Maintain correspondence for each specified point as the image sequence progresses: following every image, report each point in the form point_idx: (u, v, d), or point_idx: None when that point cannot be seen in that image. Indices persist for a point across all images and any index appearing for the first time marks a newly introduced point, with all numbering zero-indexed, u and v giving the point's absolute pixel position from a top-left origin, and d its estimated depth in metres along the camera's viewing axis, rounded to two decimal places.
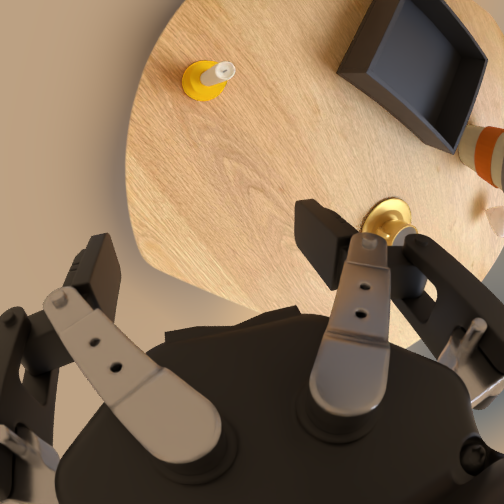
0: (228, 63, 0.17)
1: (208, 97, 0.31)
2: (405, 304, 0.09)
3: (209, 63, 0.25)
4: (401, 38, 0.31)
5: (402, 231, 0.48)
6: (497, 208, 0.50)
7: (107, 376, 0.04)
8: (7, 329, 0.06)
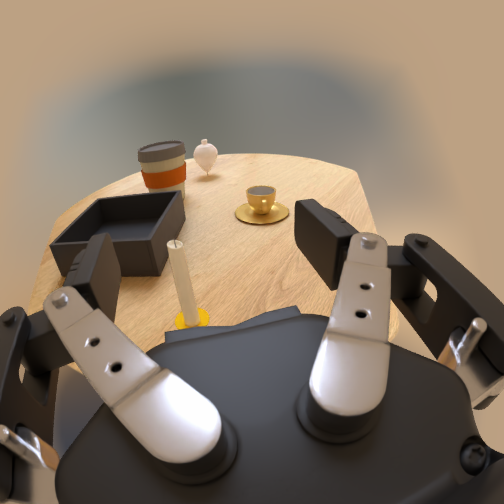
0: (168, 243, 0.26)
1: None
2: (405, 304, 0.09)
3: (177, 324, 0.31)
4: None
5: None
6: (199, 163, 0.88)
7: (107, 376, 0.04)
8: (7, 328, 0.06)
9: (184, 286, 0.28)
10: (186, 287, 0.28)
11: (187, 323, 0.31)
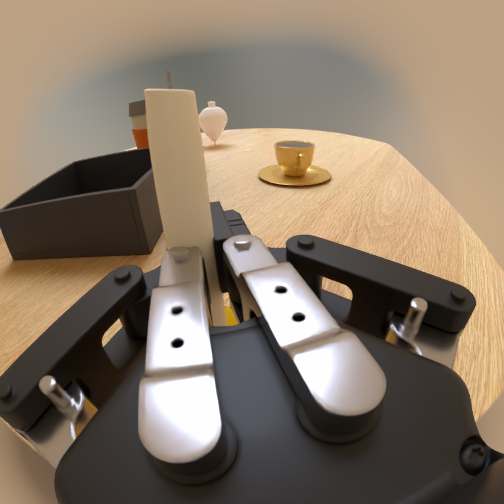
0: None
1: None
2: None
3: None
4: None
5: None
6: (205, 129, 0.69)
7: (164, 346, 0.05)
8: (115, 285, 0.07)
9: (197, 231, 0.09)
10: (203, 235, 0.09)
11: None
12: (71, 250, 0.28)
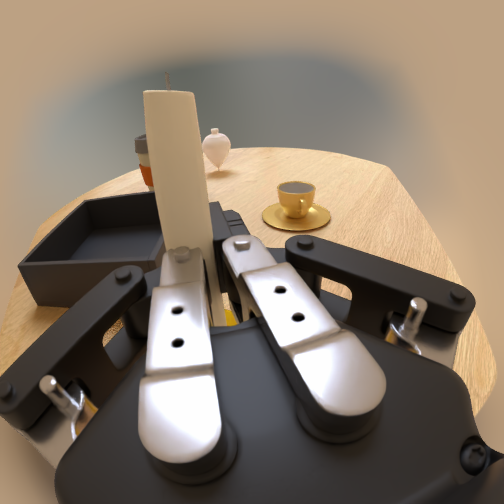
0: (147, 91, 0.07)
1: None
2: None
3: None
4: None
5: None
6: (209, 156, 0.73)
7: (165, 346, 0.05)
8: (116, 286, 0.07)
9: (200, 233, 0.09)
10: (205, 236, 0.09)
11: None
12: None
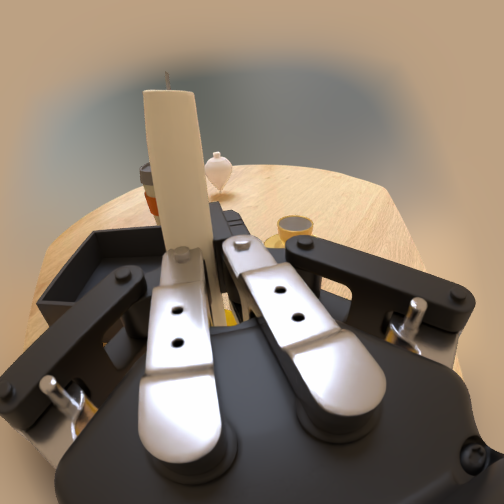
0: (147, 91, 0.07)
1: None
2: None
3: None
4: None
5: None
6: (211, 180, 0.77)
7: (165, 346, 0.05)
8: (115, 286, 0.07)
9: (200, 233, 0.09)
10: (205, 236, 0.09)
11: None
12: None
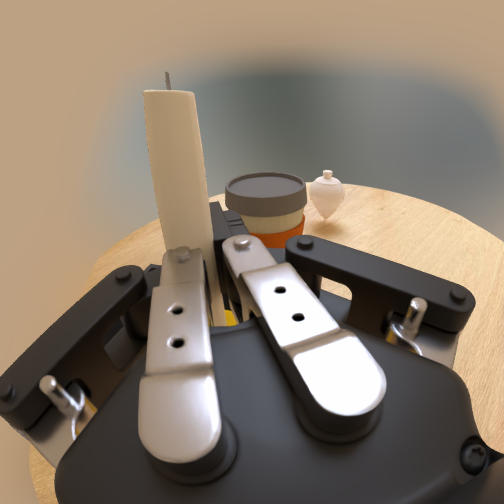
0: (147, 91, 0.07)
1: None
2: None
3: None
4: None
5: None
6: (317, 205, 0.60)
7: (165, 346, 0.05)
8: (115, 286, 0.07)
9: (200, 234, 0.09)
10: (206, 237, 0.09)
11: None
12: None
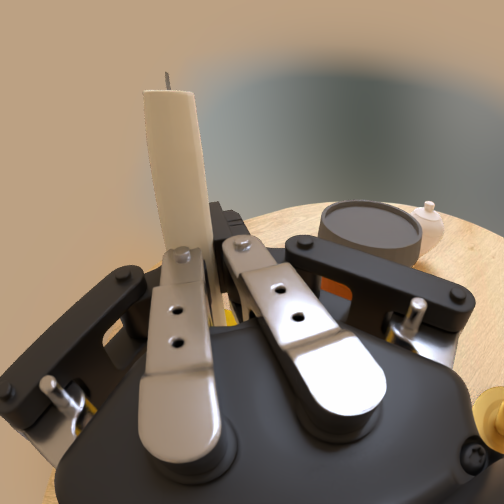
0: (147, 91, 0.07)
1: None
2: None
3: None
4: None
5: None
6: None
7: (165, 346, 0.05)
8: (115, 286, 0.07)
9: (200, 233, 0.09)
10: (205, 236, 0.09)
11: None
12: None
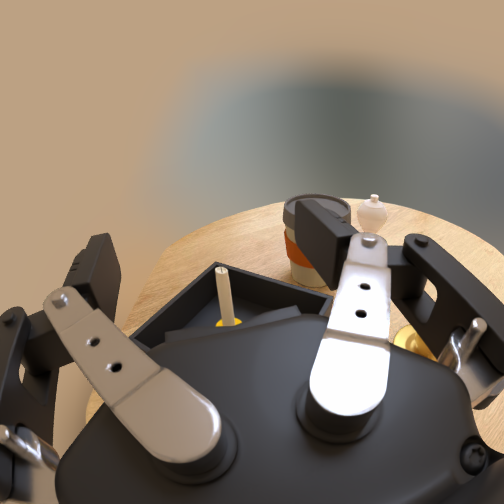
0: (216, 270, 0.34)
1: None
2: (405, 304, 0.09)
3: None
4: None
5: None
6: (362, 225, 0.65)
7: (107, 376, 0.04)
8: (7, 328, 0.06)
9: (229, 300, 0.36)
10: (230, 301, 0.36)
11: None
12: None
